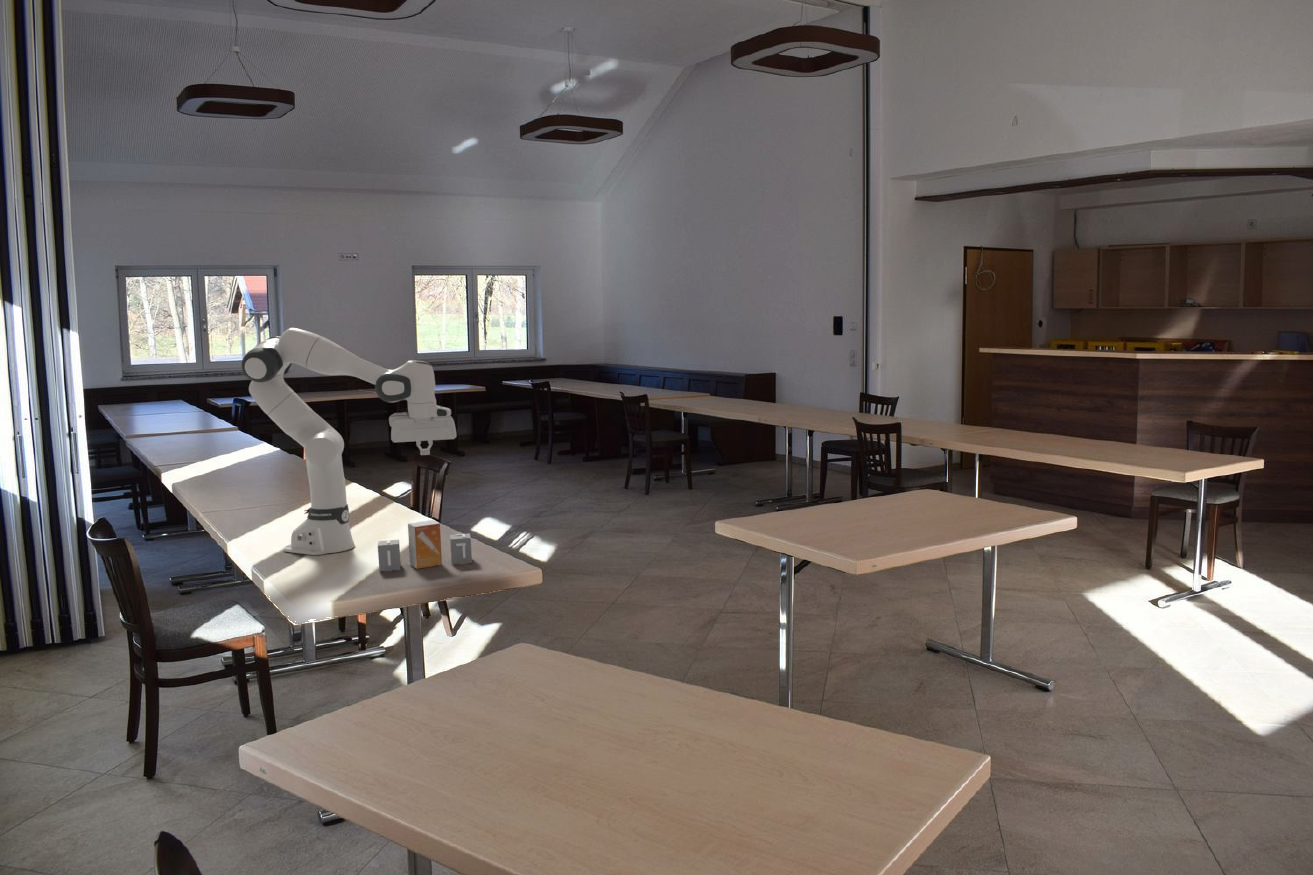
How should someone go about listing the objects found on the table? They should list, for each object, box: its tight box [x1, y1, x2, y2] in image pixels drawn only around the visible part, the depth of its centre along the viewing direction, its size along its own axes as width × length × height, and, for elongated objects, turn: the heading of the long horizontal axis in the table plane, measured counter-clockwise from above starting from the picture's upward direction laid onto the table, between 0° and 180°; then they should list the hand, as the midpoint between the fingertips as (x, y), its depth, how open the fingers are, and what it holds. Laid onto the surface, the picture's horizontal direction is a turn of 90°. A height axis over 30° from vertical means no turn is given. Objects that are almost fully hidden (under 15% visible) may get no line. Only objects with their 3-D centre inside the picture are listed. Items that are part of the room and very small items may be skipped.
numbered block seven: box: [449, 533, 473, 565], centre depth 296 cm, size 6×6×8 cm
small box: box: [407, 519, 443, 570], centre depth 294 cm, size 8×6×13 cm
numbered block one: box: [377, 539, 402, 573], centre depth 291 cm, size 6×6×8 cm
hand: (425, 454), depth 309 cm, fingers closed
